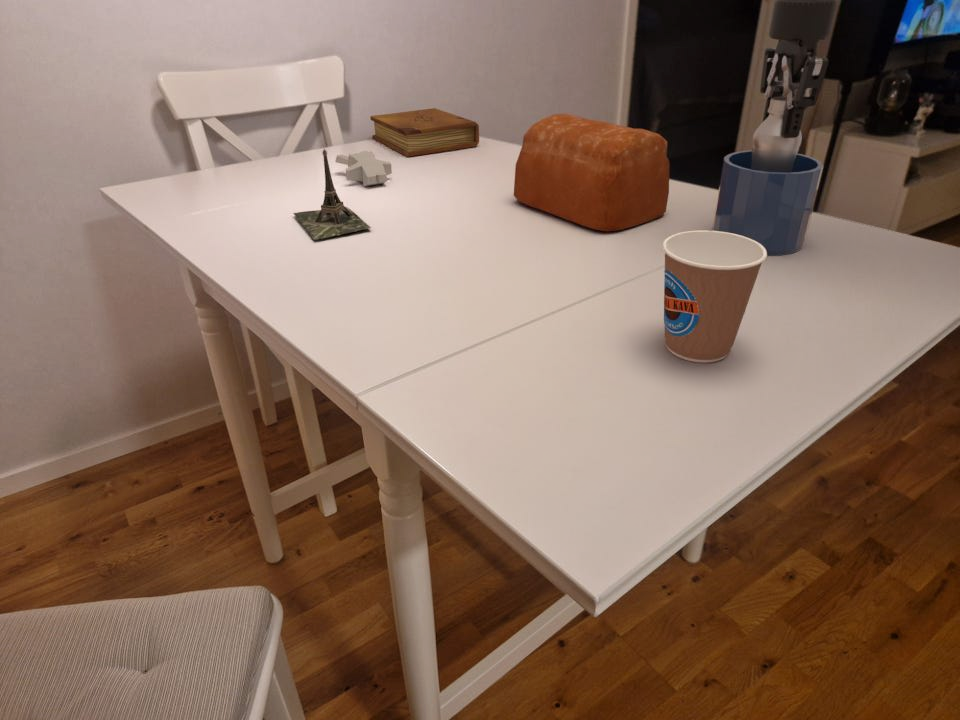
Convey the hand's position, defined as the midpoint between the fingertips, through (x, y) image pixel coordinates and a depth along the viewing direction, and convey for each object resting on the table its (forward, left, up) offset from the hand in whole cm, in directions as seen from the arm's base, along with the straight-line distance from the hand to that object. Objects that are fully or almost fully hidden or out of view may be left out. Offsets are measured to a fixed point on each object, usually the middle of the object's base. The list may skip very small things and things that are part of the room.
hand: (779, 131), depth 94 cm
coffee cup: (+20, +32, -16) cm, 41 cm away
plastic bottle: (0, 0, -16) cm, 16 cm away
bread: (+23, -18, -16) cm, 34 cm away
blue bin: (0, 0, -16) cm, 16 cm away
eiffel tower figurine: (+68, -15, -16) cm, 72 cm away
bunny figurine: (+65, -42, -16) cm, 79 cm away
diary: (+54, -73, -16) cm, 92 cm away
